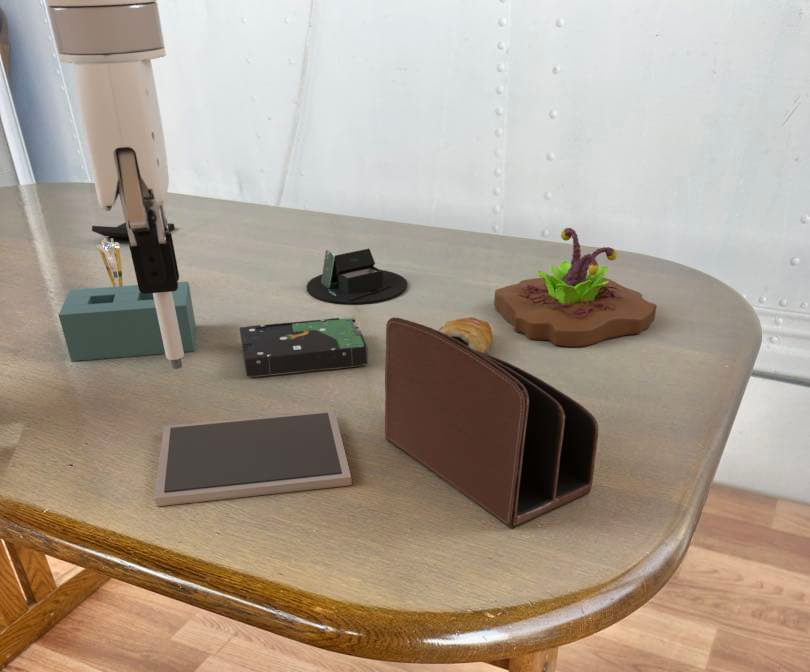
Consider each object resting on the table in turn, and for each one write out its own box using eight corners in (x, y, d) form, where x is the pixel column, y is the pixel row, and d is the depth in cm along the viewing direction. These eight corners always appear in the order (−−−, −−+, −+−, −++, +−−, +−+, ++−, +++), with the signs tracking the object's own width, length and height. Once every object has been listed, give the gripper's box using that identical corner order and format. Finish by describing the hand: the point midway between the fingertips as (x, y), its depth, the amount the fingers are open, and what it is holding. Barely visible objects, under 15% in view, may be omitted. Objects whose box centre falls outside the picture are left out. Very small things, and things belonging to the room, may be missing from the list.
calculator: (174, 228, 148) (171, 211, 146) (144, 247, 139) (140, 229, 137) (128, 225, 150) (124, 208, 148) (95, 244, 141) (90, 226, 139)
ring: (133, 301, 118) (121, 244, 113) (110, 304, 117) (97, 247, 112) (126, 286, 123) (114, 232, 118) (104, 289, 122) (91, 234, 117)
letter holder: (510, 531, 70) (522, 381, 62) (383, 440, 83) (379, 307, 75) (592, 493, 75) (614, 350, 67) (459, 413, 88) (463, 285, 80)
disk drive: (247, 381, 96) (370, 366, 98) (243, 359, 94) (369, 344, 96) (241, 347, 104) (355, 334, 106) (237, 326, 102) (353, 313, 105)
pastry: (453, 330, 107) (454, 302, 105) (503, 337, 105) (505, 308, 103) (429, 357, 100) (429, 328, 98) (481, 366, 98) (483, 335, 96)
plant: (588, 283, 121) (597, 204, 115) (676, 327, 107) (692, 240, 100) (471, 304, 115) (474, 222, 108) (548, 354, 100) (557, 263, 94)
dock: (194, 351, 103) (186, 305, 99) (71, 361, 100) (58, 314, 97) (195, 325, 110) (188, 281, 106) (80, 334, 108) (69, 289, 104)
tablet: (156, 507, 74) (154, 496, 73) (165, 434, 85) (163, 424, 85) (352, 485, 77) (351, 475, 76) (335, 417, 88) (334, 408, 87)
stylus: (168, 371, 73) (136, 222, 65) (168, 364, 74) (138, 217, 67) (186, 369, 73) (156, 220, 66) (186, 362, 75) (158, 215, 67)
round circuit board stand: (373, 264, 130) (372, 229, 126) (426, 290, 120) (426, 252, 116) (289, 282, 123) (285, 245, 120) (338, 312, 113) (335, 272, 110)
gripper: (71, 29, 64) (123, 262, 75) (35, 47, 52) (104, 324, 63) (167, 25, 65) (205, 256, 76) (155, 42, 53) (203, 315, 64)
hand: (160, 285), depth 69 cm, fingers closed on stylus, 1 cm apart
